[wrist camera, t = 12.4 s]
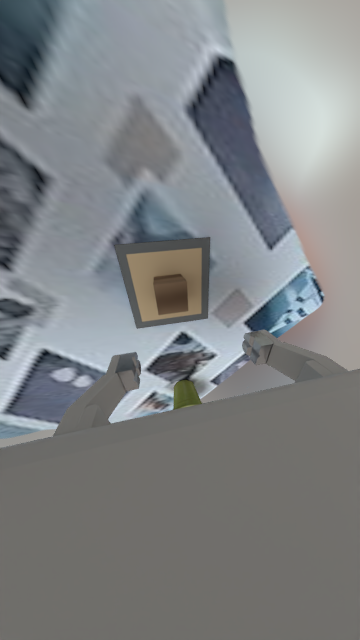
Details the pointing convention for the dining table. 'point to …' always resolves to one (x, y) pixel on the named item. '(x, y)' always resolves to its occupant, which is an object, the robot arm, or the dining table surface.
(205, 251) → the coaster mat
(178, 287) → the walnut block
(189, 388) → the plant pot
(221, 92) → the dining table surface
